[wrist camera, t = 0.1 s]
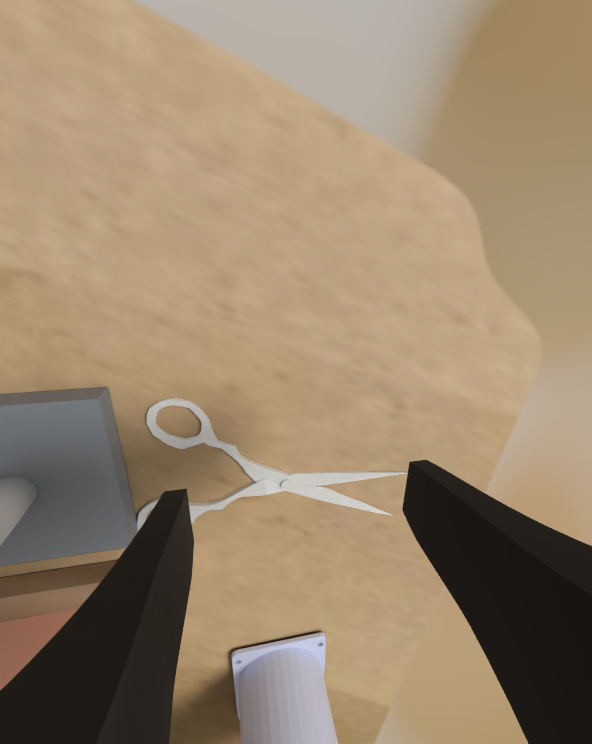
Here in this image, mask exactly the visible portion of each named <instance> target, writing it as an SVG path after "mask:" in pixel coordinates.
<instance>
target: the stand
mask: <svg viewBox="0 0 592 744" xmlns="http://www.w3.org/2000/svg"><path fill="white" fill-rule="evenodd" d="M116 562H117V560H114V561H107V562H101V563H94V564H88V565H81V566H75V567H68V568H61V569H55V570H48V571H42V572H35V573H29V574H22V575H16V576H9V577H3V578H0V623H1V622H7V621H12V620H18V619H24V618H30V617H35V616H41V615H47V614H53V613H58V612H64V611H70V610H76V609H79V607H80V606H81V605H82V604H83V603H84V602H85V600H86V599H87V598H88V597H89V596H90V594H91V593H92V592H93V591H94V590H95V588H96V587H97V586H98V585H99V583H100V582H101V581H102V580H103V578H104V577H105V576H106V574H107V573H108V572H109V571H110V569H111V568H112V567H113V565H114V564H115V563H116Z"/></svg>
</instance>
